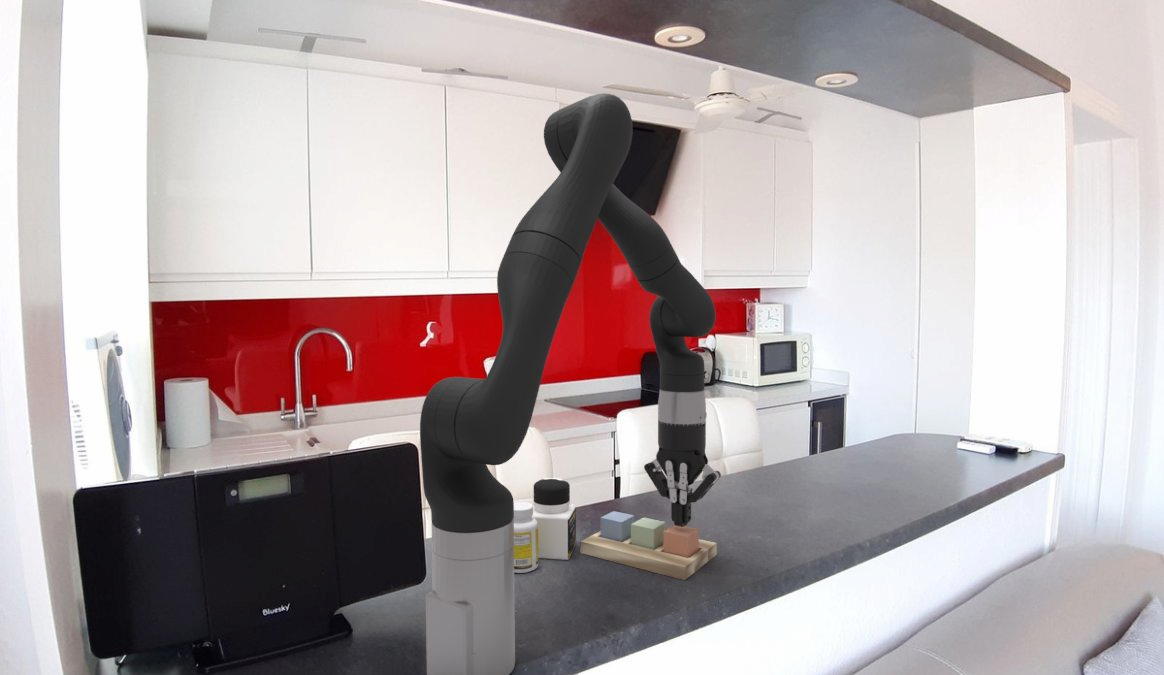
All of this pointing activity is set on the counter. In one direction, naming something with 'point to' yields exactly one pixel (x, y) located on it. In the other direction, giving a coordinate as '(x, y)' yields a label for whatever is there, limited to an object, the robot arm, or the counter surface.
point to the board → (649, 556)
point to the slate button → (616, 526)
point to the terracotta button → (681, 541)
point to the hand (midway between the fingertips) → (681, 524)
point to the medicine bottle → (554, 519)
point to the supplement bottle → (525, 538)
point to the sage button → (647, 533)
